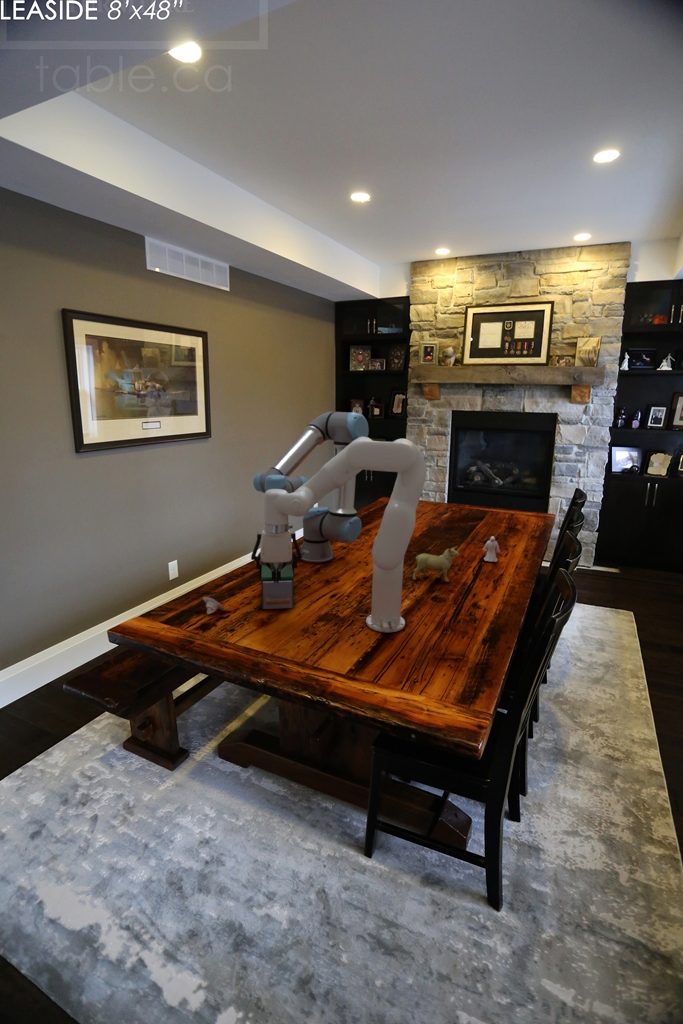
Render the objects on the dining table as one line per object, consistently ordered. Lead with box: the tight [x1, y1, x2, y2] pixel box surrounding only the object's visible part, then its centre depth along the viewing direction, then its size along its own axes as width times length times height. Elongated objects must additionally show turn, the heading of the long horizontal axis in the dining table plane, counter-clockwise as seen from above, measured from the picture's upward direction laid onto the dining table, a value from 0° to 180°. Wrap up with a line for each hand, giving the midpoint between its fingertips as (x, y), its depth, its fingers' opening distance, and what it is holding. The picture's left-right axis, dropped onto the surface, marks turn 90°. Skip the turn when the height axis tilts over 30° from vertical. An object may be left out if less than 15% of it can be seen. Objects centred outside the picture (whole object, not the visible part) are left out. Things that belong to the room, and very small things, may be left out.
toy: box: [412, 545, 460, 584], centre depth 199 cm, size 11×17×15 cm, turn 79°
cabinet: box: [260, 562, 295, 610], centre depth 179 cm, size 16×11×12 cm, turn 8°
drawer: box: [263, 579, 292, 610], centre depth 173 cm, size 21×10×10 cm, turn 8°
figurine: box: [482, 535, 501, 563], centre depth 223 cm, size 8×8×12 cm
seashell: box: [202, 596, 226, 615], centre depth 167 cm, size 8×5×8 cm
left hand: (277, 576), depth 183 cm, fingers closed on cabinet, 11 cm apart
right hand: (276, 581), depth 165 cm, fingers closed
